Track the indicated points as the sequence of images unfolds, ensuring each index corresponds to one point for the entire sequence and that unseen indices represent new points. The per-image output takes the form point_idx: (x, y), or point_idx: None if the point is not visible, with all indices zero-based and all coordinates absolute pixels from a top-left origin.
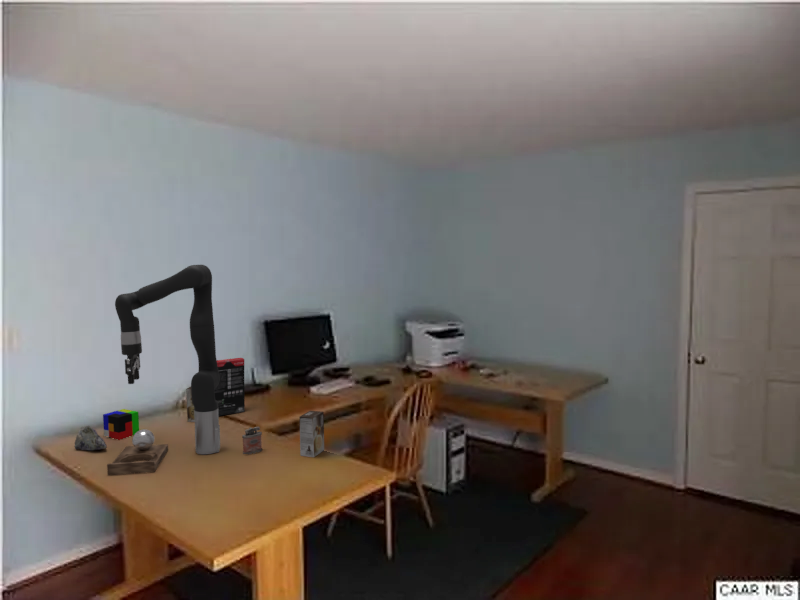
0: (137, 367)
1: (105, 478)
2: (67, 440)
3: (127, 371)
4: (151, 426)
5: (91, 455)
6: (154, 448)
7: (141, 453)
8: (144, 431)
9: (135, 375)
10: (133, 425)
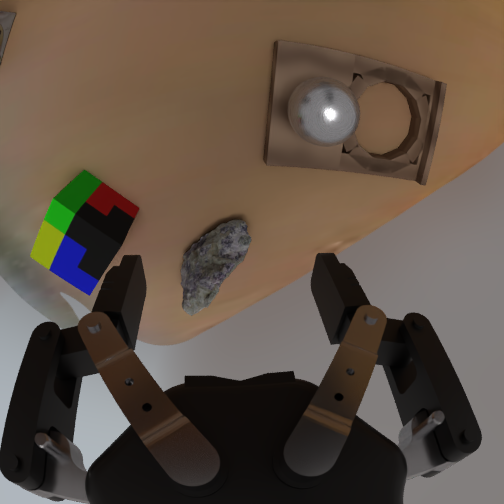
0: (126, 347)
1: None
2: None
3: (412, 361)
4: (26, 157)
5: (260, 241)
6: (313, 77)
7: None
8: (349, 110)
9: (137, 299)
10: (87, 192)
